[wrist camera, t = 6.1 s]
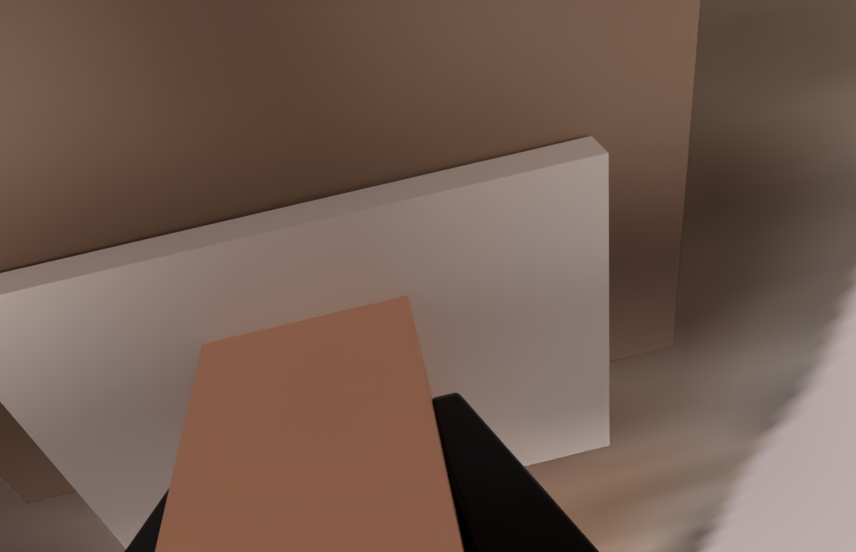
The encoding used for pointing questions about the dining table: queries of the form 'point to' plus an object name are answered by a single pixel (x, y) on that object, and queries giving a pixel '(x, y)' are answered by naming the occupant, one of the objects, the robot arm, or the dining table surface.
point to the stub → (321, 356)
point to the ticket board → (331, 124)
